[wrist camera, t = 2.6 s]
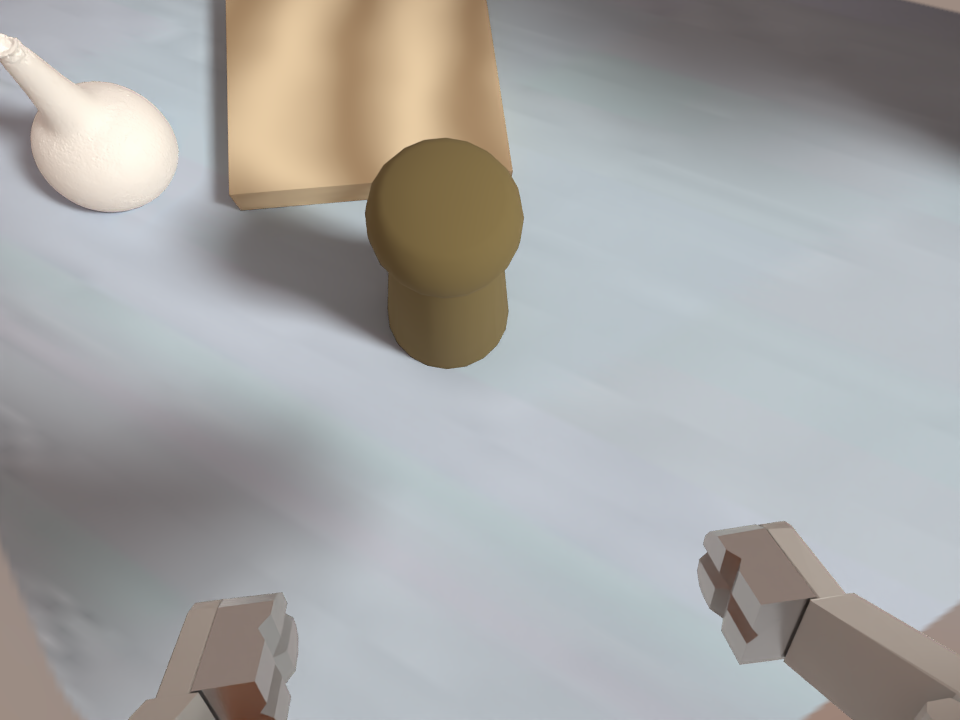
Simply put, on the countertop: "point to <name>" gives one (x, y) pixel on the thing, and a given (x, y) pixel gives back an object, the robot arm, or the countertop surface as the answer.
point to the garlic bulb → (93, 136)
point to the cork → (445, 248)
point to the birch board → (352, 92)
